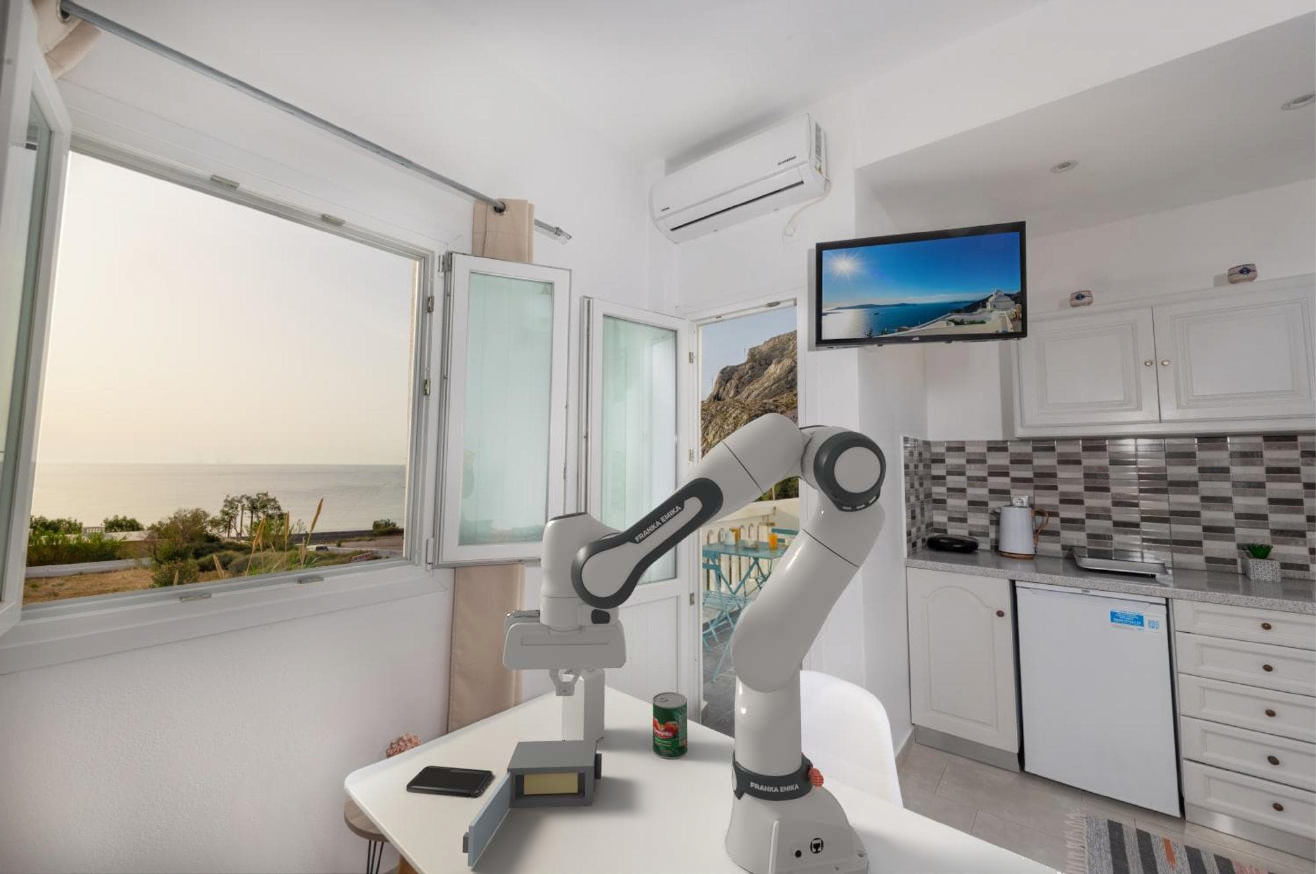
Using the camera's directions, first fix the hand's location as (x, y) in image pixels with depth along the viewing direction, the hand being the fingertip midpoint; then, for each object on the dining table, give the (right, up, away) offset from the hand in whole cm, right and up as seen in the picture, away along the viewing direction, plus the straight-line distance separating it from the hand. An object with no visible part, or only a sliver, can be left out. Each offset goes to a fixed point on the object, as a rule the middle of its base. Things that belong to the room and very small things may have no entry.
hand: (565, 694), depth 85 cm
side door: (-13, -25, +2) cm, 28 cm away
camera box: (-5, -26, +15) cm, 31 cm away
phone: (-26, -27, +17) cm, 42 cm away
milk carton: (-2, -28, +35) cm, 45 cm away
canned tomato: (+18, -28, +30) cm, 45 cm away
